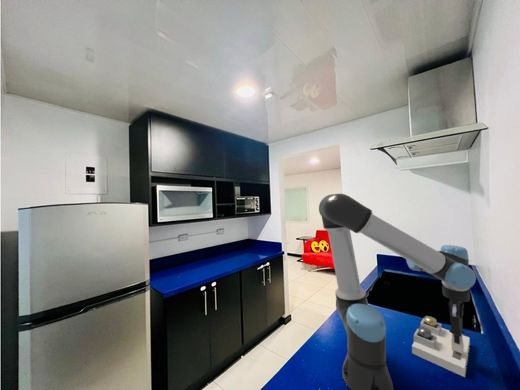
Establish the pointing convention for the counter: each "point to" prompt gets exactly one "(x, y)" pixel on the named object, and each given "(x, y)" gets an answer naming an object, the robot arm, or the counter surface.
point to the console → (441, 349)
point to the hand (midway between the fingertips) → (457, 350)
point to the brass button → (430, 321)
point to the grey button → (425, 333)
